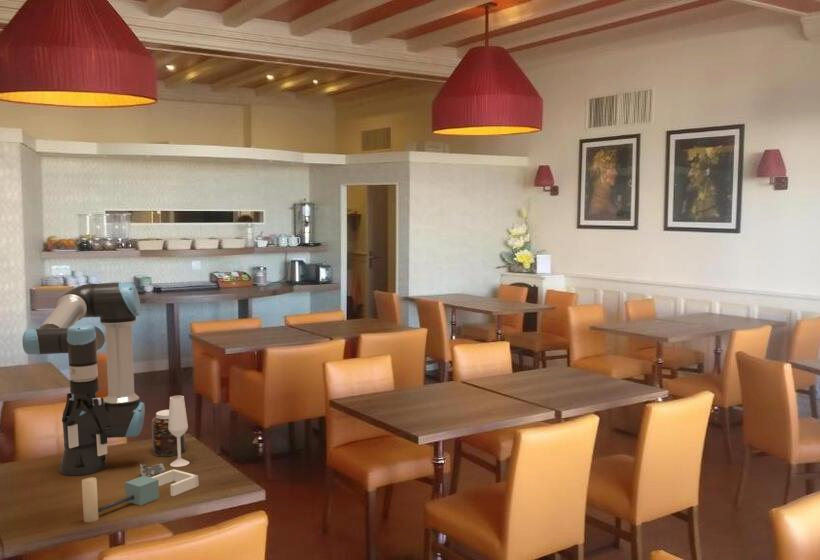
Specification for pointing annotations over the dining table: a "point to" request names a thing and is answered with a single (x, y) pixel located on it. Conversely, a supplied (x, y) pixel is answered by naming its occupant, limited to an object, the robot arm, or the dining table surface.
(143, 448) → the dining table surface
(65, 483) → the dining table surface
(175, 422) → the champagne flute
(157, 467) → the egg carton
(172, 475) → the white u-shaped bracket
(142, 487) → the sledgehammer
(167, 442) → the jar
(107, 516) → the dining table surface
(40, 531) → the dining table surface
